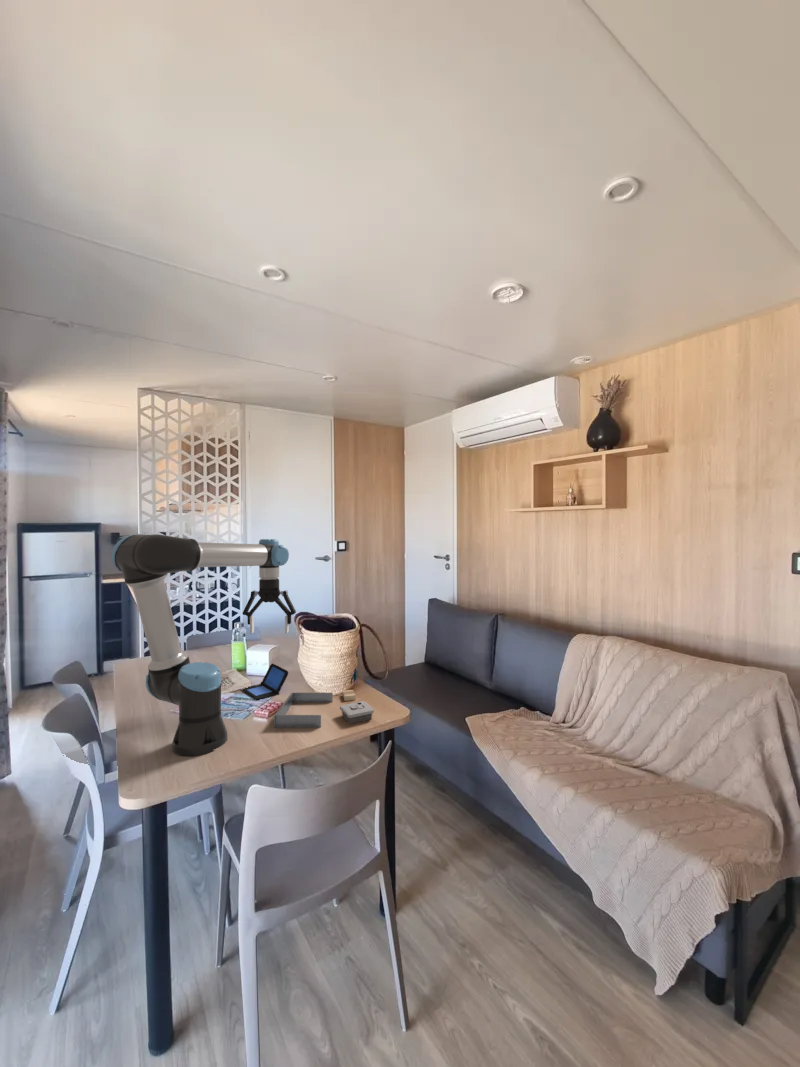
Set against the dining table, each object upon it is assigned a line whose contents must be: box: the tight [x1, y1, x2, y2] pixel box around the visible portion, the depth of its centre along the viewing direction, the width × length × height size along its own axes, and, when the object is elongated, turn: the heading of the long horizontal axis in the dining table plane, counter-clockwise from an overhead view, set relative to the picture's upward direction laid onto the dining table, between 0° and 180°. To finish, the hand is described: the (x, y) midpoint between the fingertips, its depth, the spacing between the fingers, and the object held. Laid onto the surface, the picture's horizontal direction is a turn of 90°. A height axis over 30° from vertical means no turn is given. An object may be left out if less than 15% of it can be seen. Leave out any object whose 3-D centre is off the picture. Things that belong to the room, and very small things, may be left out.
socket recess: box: [273, 692, 334, 729], centre depth 157 cm, size 22×15×4 cm
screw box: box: [341, 689, 357, 702], centre depth 170 cm, size 6×4×3 cm, turn 16°
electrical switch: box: [339, 700, 375, 725], centre depth 152 cm, size 9×5×9 cm
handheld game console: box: [242, 663, 289, 701], centre depth 180 cm, size 16×13×9 cm
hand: (269, 632), depth 177 cm, fingers open, 13 cm apart
